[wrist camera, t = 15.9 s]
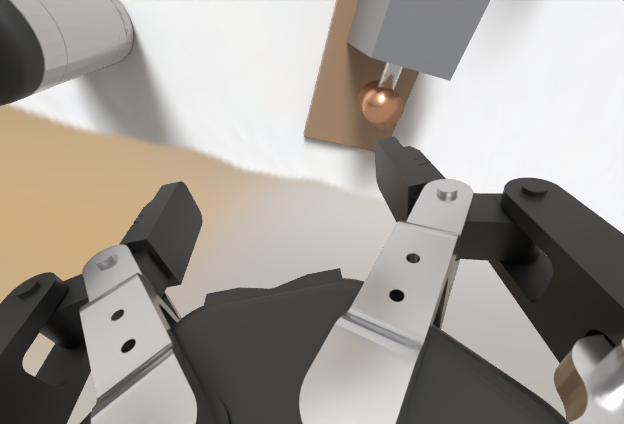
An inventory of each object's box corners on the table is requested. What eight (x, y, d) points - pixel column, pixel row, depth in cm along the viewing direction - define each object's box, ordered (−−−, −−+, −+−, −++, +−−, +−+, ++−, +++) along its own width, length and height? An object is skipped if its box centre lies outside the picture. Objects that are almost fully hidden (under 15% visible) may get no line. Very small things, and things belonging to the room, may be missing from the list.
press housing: (381, 150, 49) (411, 194, 38) (303, 133, 46) (311, 176, 35) (451, -14, 36) (527, -20, 25) (349, -52, 33) (383, -78, 22)
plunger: (382, 118, 39) (394, 131, 35) (353, 111, 38) (361, 124, 34) (431, -3, 31) (453, -4, 27) (395, -16, 30) (412, -19, 26)
